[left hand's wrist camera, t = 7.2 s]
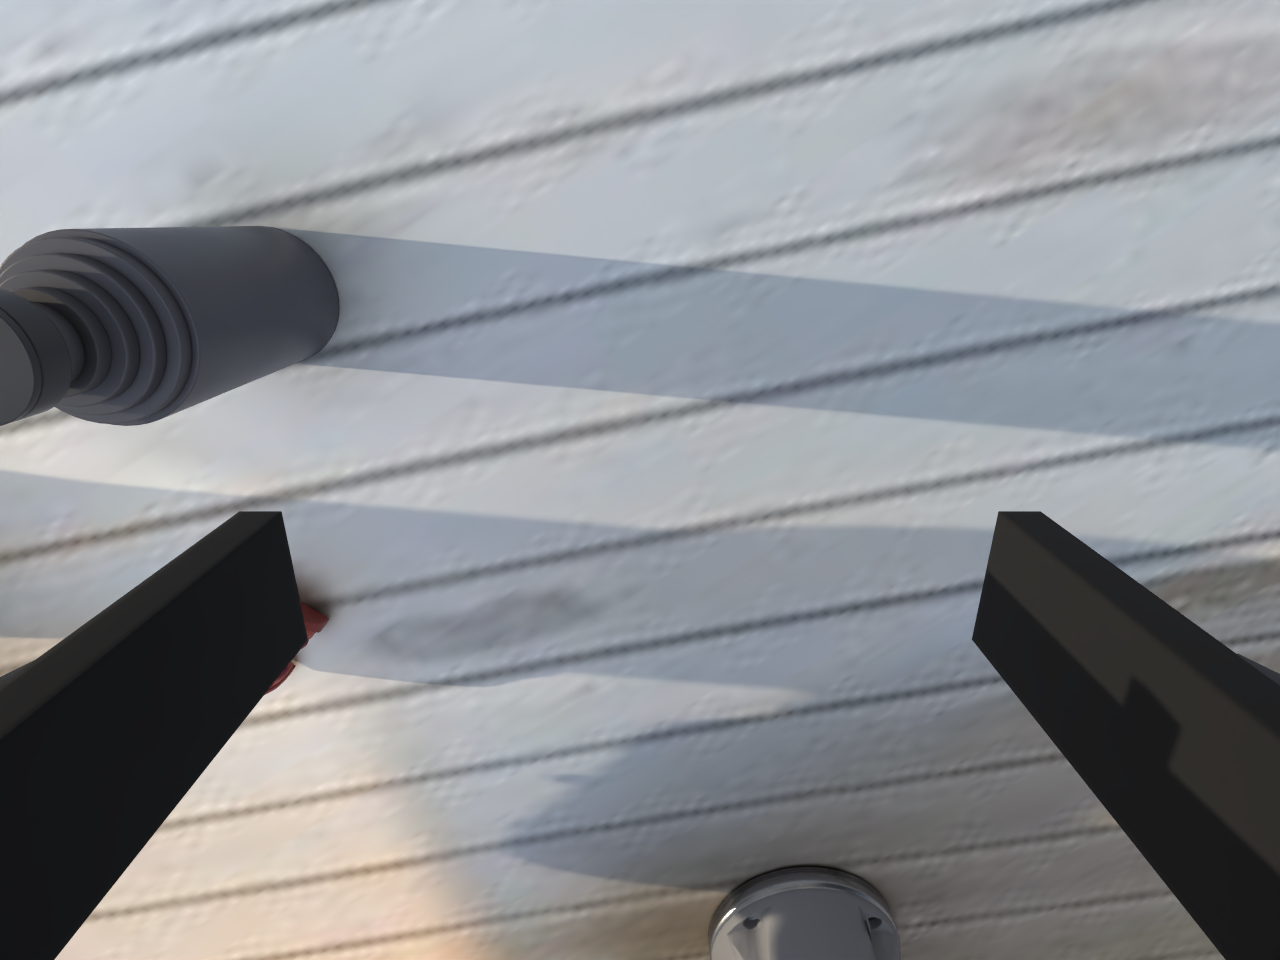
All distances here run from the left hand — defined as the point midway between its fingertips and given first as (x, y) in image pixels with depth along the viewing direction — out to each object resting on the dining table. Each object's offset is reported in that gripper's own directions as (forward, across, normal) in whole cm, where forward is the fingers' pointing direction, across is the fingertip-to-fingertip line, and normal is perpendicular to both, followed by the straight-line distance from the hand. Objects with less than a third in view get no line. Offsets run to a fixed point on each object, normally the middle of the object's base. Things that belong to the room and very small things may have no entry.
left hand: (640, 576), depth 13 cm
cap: (+10, +21, -2) cm, 23 cm away
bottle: (+28, +21, -2) cm, 35 cm away
